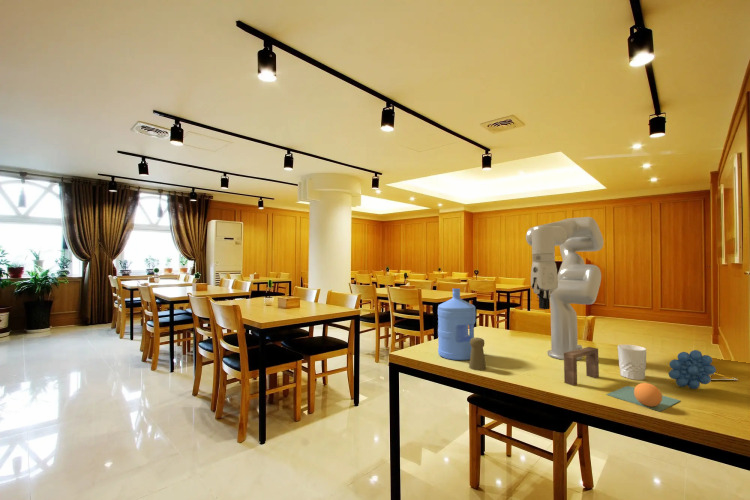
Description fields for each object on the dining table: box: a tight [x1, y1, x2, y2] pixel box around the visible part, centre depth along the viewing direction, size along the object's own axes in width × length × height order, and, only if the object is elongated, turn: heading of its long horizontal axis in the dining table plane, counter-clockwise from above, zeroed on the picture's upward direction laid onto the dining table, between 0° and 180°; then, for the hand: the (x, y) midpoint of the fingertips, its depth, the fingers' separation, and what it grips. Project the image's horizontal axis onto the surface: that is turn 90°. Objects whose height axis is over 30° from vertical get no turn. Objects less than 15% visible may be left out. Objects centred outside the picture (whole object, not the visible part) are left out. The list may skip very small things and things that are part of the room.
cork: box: [468, 337, 487, 371], centre depth 126 cm, size 6×6×11 cm
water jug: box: [437, 288, 477, 361], centre depth 143 cm, size 16×16×28 cm
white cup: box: [617, 344, 647, 381], centre depth 116 cm, size 8×8×10 cm
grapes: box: [668, 349, 717, 390], centre depth 106 cm, size 12×7×12 cm, turn 71°
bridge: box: [563, 346, 600, 386], centre depth 113 cm, size 3×15×10 cm, turn 120°
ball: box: [634, 382, 662, 407], centre depth 93 cm, size 6×6×6 cm
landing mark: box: [606, 385, 681, 412], centre depth 98 cm, size 13×13×1 cm
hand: (544, 308), depth 125 cm, fingers closed
